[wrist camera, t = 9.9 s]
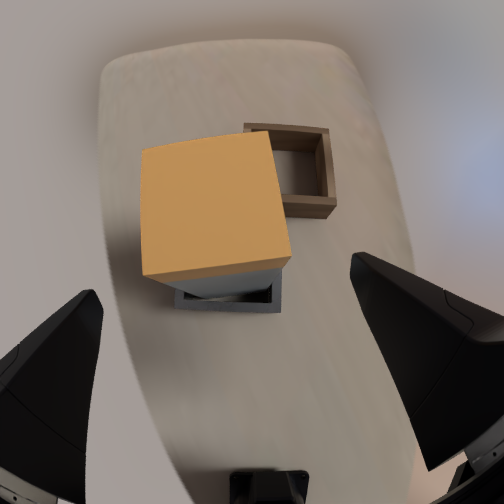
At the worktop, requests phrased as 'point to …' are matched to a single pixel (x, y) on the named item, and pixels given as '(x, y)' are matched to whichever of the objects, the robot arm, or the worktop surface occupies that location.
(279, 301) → the socket
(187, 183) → the plug
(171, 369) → the worktop surface
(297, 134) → the square frame
